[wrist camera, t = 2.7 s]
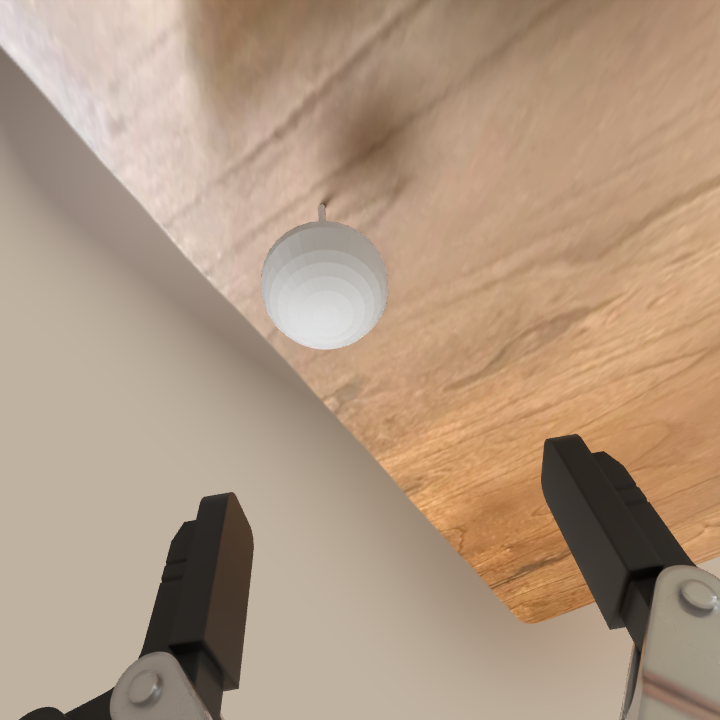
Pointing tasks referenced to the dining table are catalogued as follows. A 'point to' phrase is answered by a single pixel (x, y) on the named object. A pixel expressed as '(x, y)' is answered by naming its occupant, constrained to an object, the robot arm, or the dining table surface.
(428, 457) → the dining table surface
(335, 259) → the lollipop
